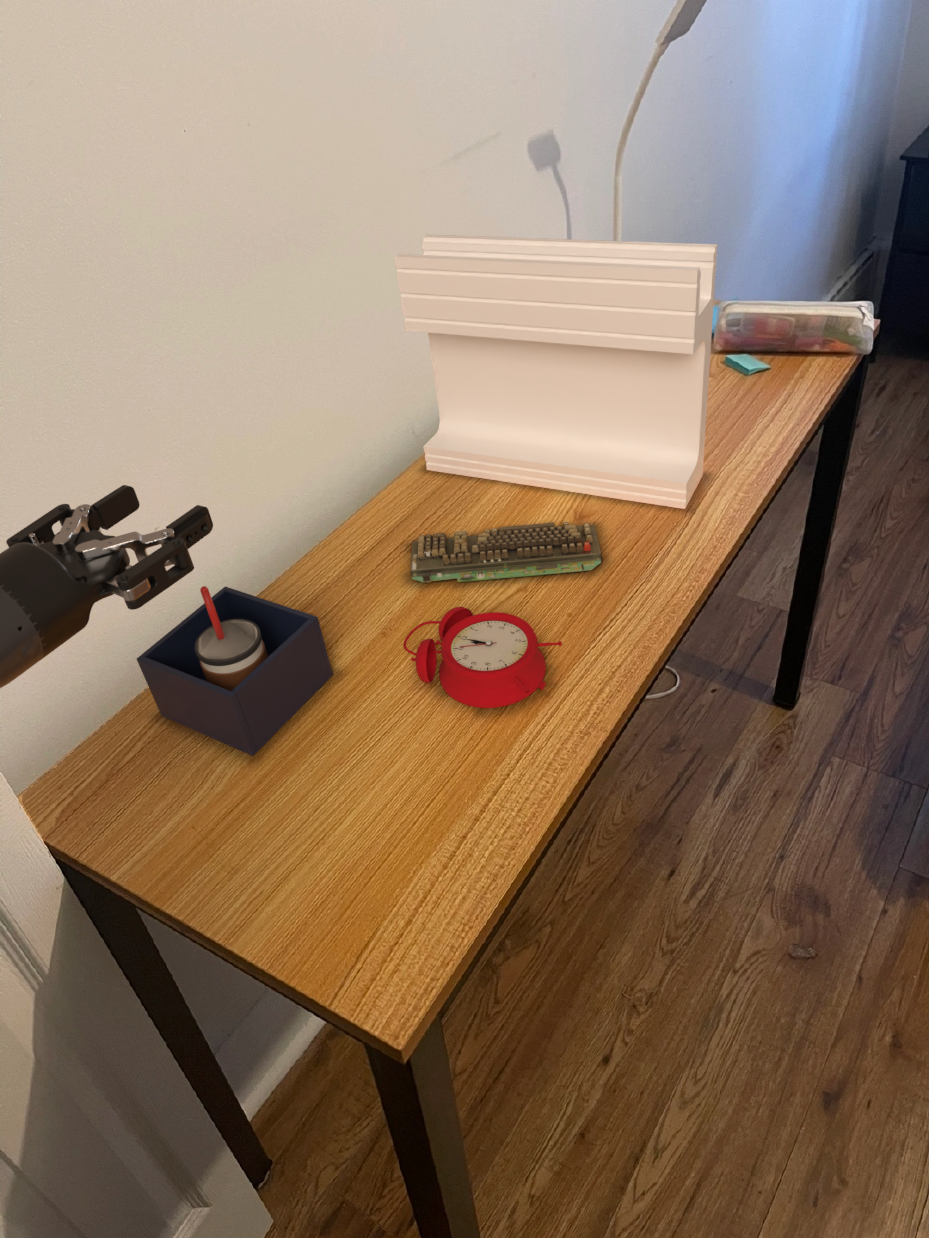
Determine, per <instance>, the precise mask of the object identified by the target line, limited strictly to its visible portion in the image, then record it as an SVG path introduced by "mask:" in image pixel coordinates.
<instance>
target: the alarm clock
mask: <svg viewBox="0 0 929 1238" xmlns="http://www.w3.org/2000/svg"><path fill="white" fill-rule="evenodd" d="M430 624H432V625H433V624H434V625H435V624H438V630H437V631H438V636H439V639H440V640H439V639H437V640H436V641H434V639H433V638H425V639H423V640H421V642H420V643H419V645H418V646H417V650H416V652H414V651H412V650H410V649H409V648H408V647H407V643H408V640H409V639H410V638H411V636H412V635H413V634H414V633H415V632H416V631H417V630H418V629H420V628H421V627H423V626H426V625H430ZM538 642H539V641H538V636H537V634H536V632H535V630H534V628H533V627H532V626H531V625H530V623H529V622H528V621H526V620H524V619H523V618H521V617H519V616H517V615H514V614H511V613H505V612H498V611H497V612H495V611H494V612H492V611H490V612H482V613H476V614H473V612H472V610H470V609H469V608H467V607H464V606H456V607H453V608H451V609H450V610H448V611H446V613H445V614H444V615H443V616H442V617H441V619H440V621H439V620H429V621H424V622H422V623H419V624H418V625H416V626H415V627H414V628H412V629H411V630H410V632H409V633H408V634H407V636H406V637H405V639H404V641H403V649H404V650H405V651H406V652H407V653H408V654H411V655H413V656H414V657H411V658H410V661H411V662H415V670H416V674H417V676H418V678H419V680H420V681H422V682H423V683H428V684H431V683H433V681H434V679H435V676H436V670H437V654H441V657H442V660H441V662H440V665H439V669H438V670H439V671H438V675H439V682H440V684H441V687H442V689H443V690H444V692H445V693H446V694H447V695H448V696H449V697H450V698H452V699H453V700H455V701H456V702H458V703H460V704H463V705H465V706H469V707H474V708H477V709H478V708H480V709H494V708H495V709H496V708H501V707H507V706H510V705H514V704H517V703H519V702H521V701H523V700H525V699H526V698H528V697H530V696H531V695H532V694H533V693H534V692H536V691H537V689H540V691H541V692H542V691H543V690H544V688H545V687H546V685H547V683H546V682H545V681H544V679H545V675H546V672H547V671H546V660H545V656H544V654H543V653H542V651H541V650H540V648H539V647H549V646H559V647H561V646H563V643H562V641H561V640H560V641H557V642H539V643H538ZM439 645H440V646H441V649H440V650H437V647H436V646H439Z"/></svg>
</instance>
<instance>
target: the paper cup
mask: <svg viewBox="0 0 929 1238" xmlns="http://www.w3.org/2000/svg"><path fill="white" fill-rule="evenodd" d="M199 592H200V594H201V597H202V599H203V602H204V603H205V605H206V608H207V611H208V614H209V616H210V619H211V622H212V626H210V627H209V628H207V629H206V630H205V631H203V632H202V633H201V634H200V635H199V637H198V638H197V640H196V642H195V652H196V655H197V657H198V658H199V660H200V665H201V668H202V670H203V673H204V675H205V678H206V680H207V682H209V683H211V684H214V685H216V686H219V687H221V688H224V689H226V690H229V691H231V692H232V690H233V689H234V688H235V687H236V686H237V685H238V684H240V683H241V682H242V681H243V680H244V679H245V678H246V677H247V676H248V675H249V674H250V673H251V672H252V671H254V670H255V669H256V668H257V667H258V666H259V665H260V664H261V663H262V662H263V661H264V660H265V659H266V658H268V654H267V651H266V648H265V645H264V642H263V640H262V636H261V632H260V629H259V627H258V626H257V625H256V624H255V623H253V622H251V621H249V620H245V619H230V620H225V621H222V622H220V621H219V618H218V615H217V612H216V610H215V607H214V604H213V601H212V598H211V597H212V595H211V593H210V590H209V588H208V586H206V585H203V586H201V587H200V588H199ZM204 603H203V604H204Z"/></svg>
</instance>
